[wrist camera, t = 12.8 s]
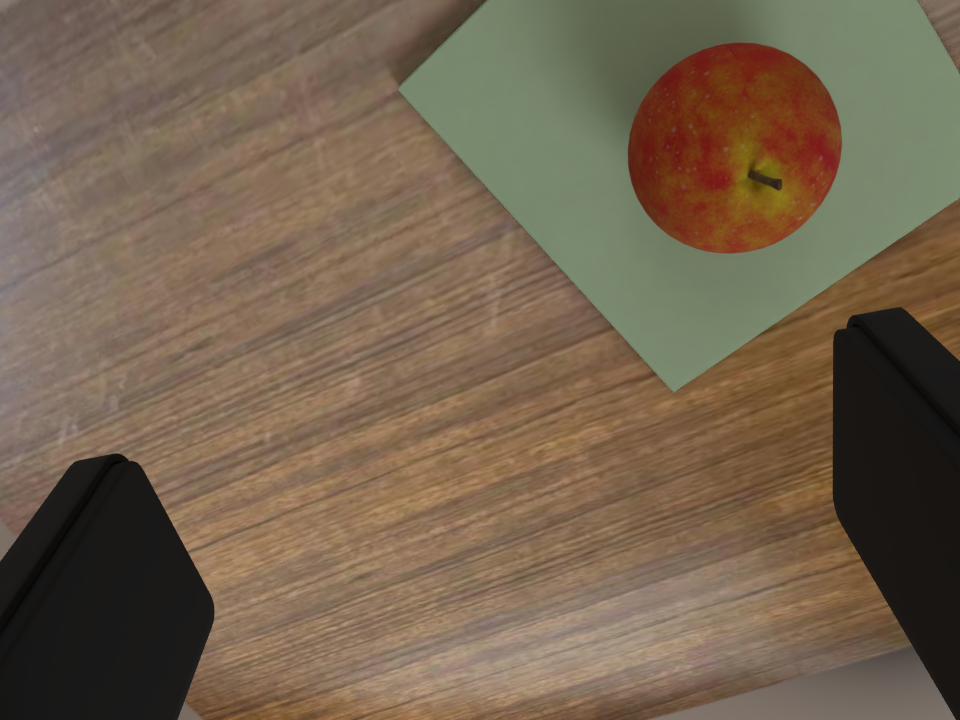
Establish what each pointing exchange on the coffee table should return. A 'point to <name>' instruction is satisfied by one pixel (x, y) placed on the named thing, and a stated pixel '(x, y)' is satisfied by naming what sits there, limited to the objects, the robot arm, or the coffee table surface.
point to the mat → (605, 137)
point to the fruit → (734, 148)
